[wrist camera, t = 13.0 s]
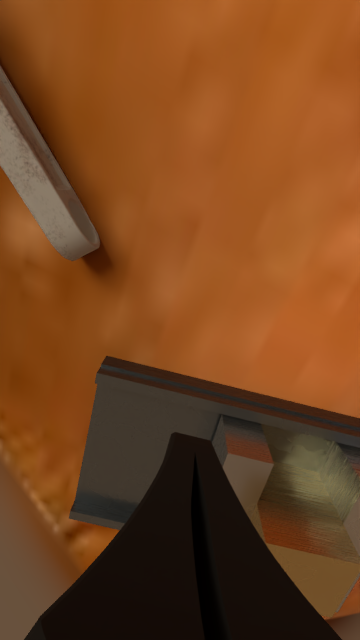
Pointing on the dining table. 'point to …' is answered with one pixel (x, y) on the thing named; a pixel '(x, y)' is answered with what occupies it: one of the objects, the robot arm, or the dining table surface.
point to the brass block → (307, 536)
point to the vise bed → (202, 421)
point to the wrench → (41, 179)
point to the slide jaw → (243, 458)
